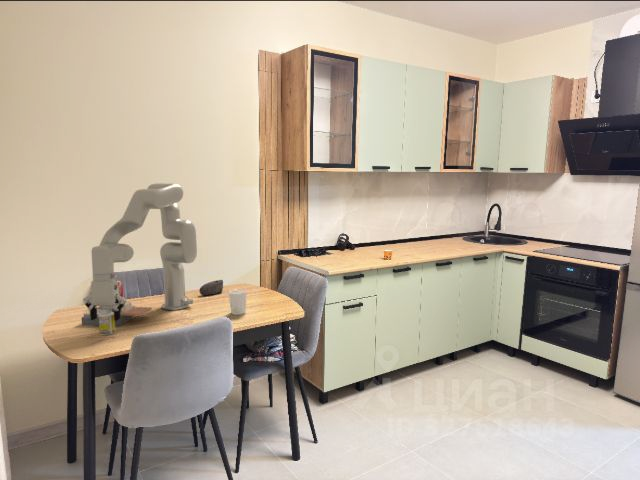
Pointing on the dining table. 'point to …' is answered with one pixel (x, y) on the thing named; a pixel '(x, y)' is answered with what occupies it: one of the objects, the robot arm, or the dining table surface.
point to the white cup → (237, 302)
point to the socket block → (88, 322)
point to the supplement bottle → (106, 321)
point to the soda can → (120, 289)
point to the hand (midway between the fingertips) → (105, 319)
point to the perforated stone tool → (212, 288)
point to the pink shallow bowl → (133, 310)
